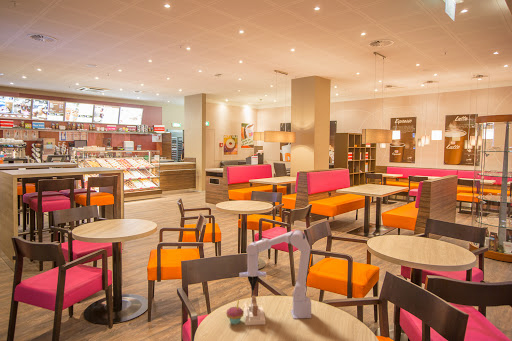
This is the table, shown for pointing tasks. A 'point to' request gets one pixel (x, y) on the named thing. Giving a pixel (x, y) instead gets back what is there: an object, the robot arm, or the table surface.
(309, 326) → the table surface
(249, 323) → the cream lipped block
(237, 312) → the cupcake
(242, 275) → the robot arm
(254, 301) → the brown wooden bar
